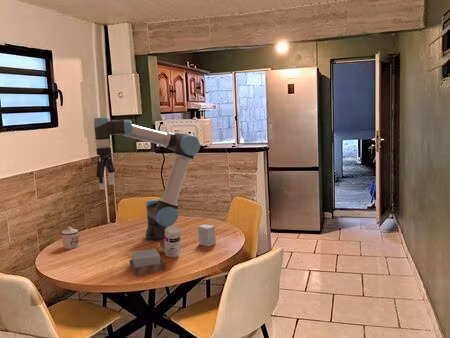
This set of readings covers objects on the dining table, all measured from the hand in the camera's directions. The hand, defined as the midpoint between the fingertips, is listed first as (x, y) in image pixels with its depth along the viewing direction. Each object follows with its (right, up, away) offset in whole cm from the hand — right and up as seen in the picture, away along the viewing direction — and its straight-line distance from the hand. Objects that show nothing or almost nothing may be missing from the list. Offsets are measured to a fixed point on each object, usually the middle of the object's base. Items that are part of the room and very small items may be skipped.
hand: (107, 186), depth 234 cm
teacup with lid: (-26, -35, +22) cm, 49 cm away
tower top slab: (+24, -36, -20) cm, 48 cm away
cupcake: (+32, -35, +4) cm, 48 cm away
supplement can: (+36, -21, -9) cm, 43 cm away
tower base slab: (+25, -39, -20) cm, 51 cm away
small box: (+53, -33, +13) cm, 64 cm away
